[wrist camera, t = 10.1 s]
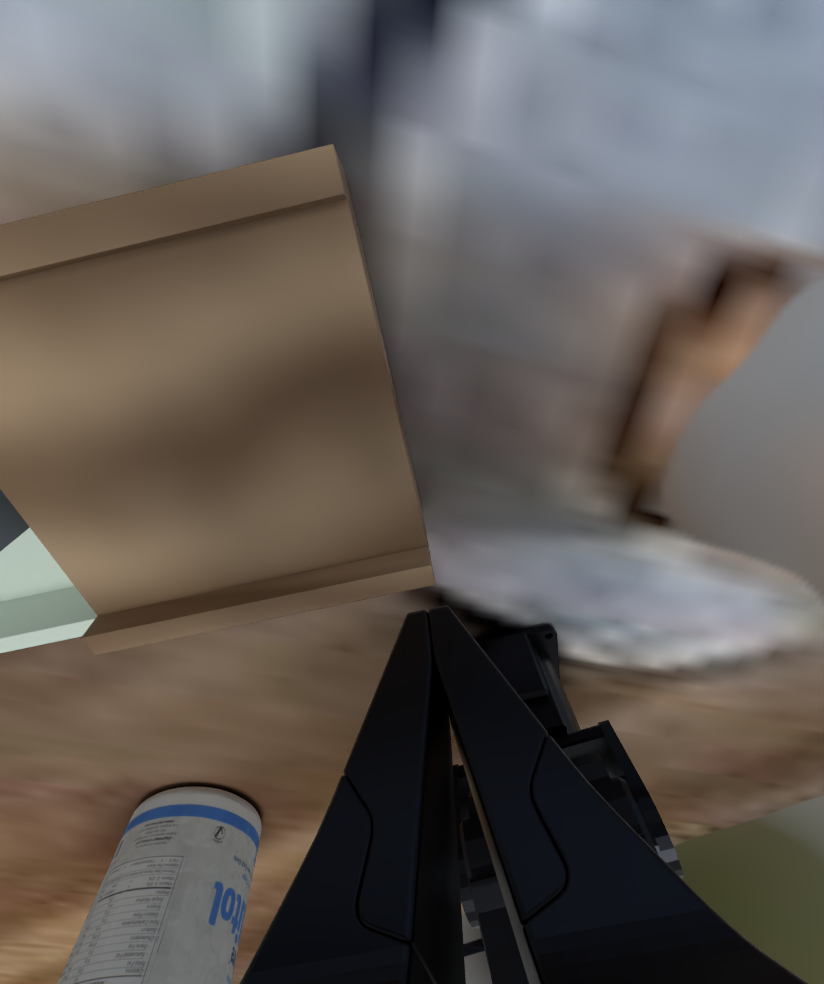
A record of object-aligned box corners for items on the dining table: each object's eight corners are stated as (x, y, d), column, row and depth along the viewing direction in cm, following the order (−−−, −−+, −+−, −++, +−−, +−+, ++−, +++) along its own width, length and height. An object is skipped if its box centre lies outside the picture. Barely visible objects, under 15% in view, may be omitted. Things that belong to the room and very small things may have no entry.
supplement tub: (283, 829, 36) (234, 1147, 24) (177, 855, 37) (73, 1176, 24) (226, 767, 32) (126, 1121, 19) (106, 797, 32) (-69, 1158, 20)
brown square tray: (421, 509, 22) (435, 584, 17) (155, 565, 23) (94, 655, 18) (346, 176, 16) (332, 144, 11) (-32, 267, 16) (-215, 277, 11)
